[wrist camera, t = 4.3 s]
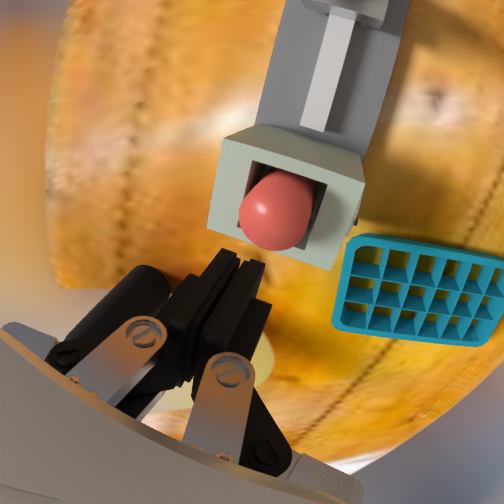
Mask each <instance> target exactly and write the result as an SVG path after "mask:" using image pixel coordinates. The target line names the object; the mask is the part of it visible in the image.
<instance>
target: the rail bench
mask: <svg viewBox="0 0 504 504" xmlns="http://www.w3.org/2000/svg"><path fill="white" fill-rule="evenodd" d="M409 4H410V0H389V2H388V6H387V10H386V14H385V18H384V22H383V23H382V25H381V27H380V29H378V28H375V27H372V26H369V25H367V27H363V26H360V25H359V24H360V22H357V21H353V20H350V19H347V18H343V17H340V16H336V15H332V14H328V13H326V16H325V15H321V14H318V12H317V11H316V10H312V9H307V8H304V6H303V4H302V2H301V0H286V2H285V6H284V10H283V14H282V17H281V21H280V25H279V29H278V32H277V36H276V40H275V44H274V48H273V52H272V56H271V60H270V64H269V68H268V72H267V76H266V80H265V84H264V88H263V92H262V96H261V100H260V104H259V108H258V112H257V116H256V121H255V125H254V126H252V127H249V128H247V129H244V130H242V131H239V132H237V133H235V134H232V135H230V136H227V137H225V138H223V142H222V147H221V152H220V157H219V162H218V167H217V172H216V178H215V183H214V188H213V194H212V199H211V205H210V211H209V216H208V222H207V228H208V229H211V230H214V231H217V232H219V233H222V234H225V235H228V236H231V237H234V238H237V239H239V240H242V241H245V242H248V243H251V244H254V243H252V242H251V241H250V240H249V239H248V238H247V237H246V235H245V234H244V232H243V231H242V229H241V226H240V223H239V208H240V205H241V203H242V201H243V199H244V198H245V197H246V196H247V194H248V193H249V192H250V191H251V190H252V189H253V188H254V187H255V186H256V185H257V184H258V183H259V182H260V181H261V179H262V178H263V177H264V176H265V175H266V174H267V173H268V172H269V171H270V170H271V169H272V168H273V167H277V168H280V169H283V170H286V171H289V172H293V173H296V174H299V175H302V176H305V177H308V178H311V179H314V180H316V183H317V196H316V199H315V202H314V206H313V209H312V212H311V216H310V219H309V222H308V225H307V229H306V232H305V234H304V236H303V238H302V239H301V240H300V241H299V242H298V243H297V244H296V245H295V246H293V247H291V248H289V249H286V250H282V251H274V252H276V253H279V254H282V255H285V256H288V257H291V258H293V259H296V260H299V261H302V262H305V263H308V264H310V265H313V266H316V267H319V268H322V269H324V270H327V271H330V270H331V268H332V266H333V263H334V261H335V259H336V256H337V254H338V252H339V249H340V247H341V245H342V242H343V240H344V237H345V236H347V235H348V234H349V233H350V231H351V229H352V227H353V225H355V226H357V223H358V211H359V208H360V204H361V200H362V195H363V190H364V187H365V184H366V183H365V178H364V173H363V168H362V164H363V162H364V159H365V156H366V153H367V150H368V147H369V144H370V141H371V138H372V135H373V132H374V129H375V126H376V123H377V120H378V117H379V114H380V111H381V107H382V104H383V101H384V98H385V94H386V91H387V88H388V84H389V81H390V77H391V74H392V71H393V67H394V63H395V60H396V56H397V52H398V49H399V45H400V41H401V37H402V33H403V29H404V25H405V21H406V17H407V13H408V8H409ZM254 245H255V244H254Z"/></svg>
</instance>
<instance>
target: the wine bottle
mask: <svg viewBox="0 0 504 504" xmlns="http://www.w3.org/2000/svg"><path fill="white" fill-rule="evenodd" d="M169 296H170V289H169V285H168V283H167V281H166V279H165V278H164V277H163V276H162V274H161V273H159V272H158V271H157V270H156V269H154V268H152V267H150V266H146V265H140V266H137V267H135V268H134V269H133V270H132V271H131V272H130V273H129V274H128V275H126V276H125V277H124V278H123V279H122V280H121V281H120V282H119V283H118V284H117V285H116V286H115V287H114V288H113V289H112V290H111V291H110V292H109V293H108V294H107V295H106V296H105V297H104V298H103V299H102V300H101V301H100V302H99V303H98V304H97V305H96V306H95V307H94V308H93V309H92V310H91V311H90V312H89V313H88V314H87V315H86V316H85V317H84V318H83V319H82V320H81V321H80V322H79V324H77V325H76V326H75V328H74V329H73V330H72V331H71V332H70V333H69V334H68V335H67V336H66V338H65V340H64V341H66V340H74V339H81V338H88V337H95V336H101V335H108V334H112V333H114V332H115V331H116V330H117V329H118V328H119V327H121V326H122V325H123V324H124V323H125V322H126V321H128V320H130V319H131V318H134V317H137V316H148V317H153V318H154V317H155V315H156V314H157V313H158V311H159V310H160V309H161V308H162V306H163V305H164V304H165V303H166V301H167V300H168V299H169Z"/></svg>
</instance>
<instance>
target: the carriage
mask: <svg viewBox="0 0 504 504" xmlns="http://www.w3.org/2000/svg"><path fill="white" fill-rule="evenodd" d="M301 2H302V4H303V6H304V8H307V9H312V10H316V11H317V12H318V14H321V15H325V16H326V13H328V14H332V15H336V16H340V17H343V18H347V19H350V20H353V21H357V22H360V24H359V25H360V26H363V27H367V25H369V26H372V27H375V28H378V29H380V27H381V25H382V23H383V22H384V18H385V14H386V10H387V6H388V2H389V0H301Z"/></svg>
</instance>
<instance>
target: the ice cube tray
mask: <svg viewBox="0 0 504 504" xmlns="http://www.w3.org/2000/svg"><path fill="white" fill-rule="evenodd" d="M367 245H368V246H374V247H380V248H383V250H382V254H381V258H380V262H379V265H375V264H369V263H362V262H356V261H353V259H354V254H355V251H356V250H357V249H358V248H359V247H361V246H367ZM390 249H392V250H398V251H404V252H410V255H409V259H408V262H407V266H406V269H400V268H394V267H387V266H386V263H387V259H388V255H389V251H390ZM420 254H422V255H428V256H434V257H436V259H435V262H434V265H433V268H432V271H431V273H425V272H419V271H415V268H416V265H417V261H418V258H419V255H420ZM447 259H451V260H457V261H460V263H459V266H458V269H457V271H456V274H455V277H450V276H444V275H442V273H443V270H444V267H445V264H446V261H447ZM472 264H479V265H482V267H481V270H480V272H479V275H478V277H477V280H476V281H474V280H468V279H467V277H468V275H469V272H470V269H471V267H472ZM495 268H500V269H502V270H501V273H500V275H499V277H498V280H497V282H496V284H492V283H490V280H491V278H492V276H493V273H494V271H495ZM350 276H356V277H363V278H369V279H375V282H374V286H373V289H366V288H360V287H354V286H348V283H349V279H350ZM382 281H388V282H395V283H401V286H400V289H399V292H398V293H393V292H386V291H379V289H380V285H381V282H382ZM410 285H415V286H421V287H426V288H425V291H424V294H423V297H420V296H413V295H407V293H408V290H409V287H410ZM436 289H441V290H448V291H449V292H448V295H447V297H446V300H440V299H433V297H434V295H435V292H436ZM461 293H468V294H470V296H469V299H468V301H467V303H462V302H458V299H459V297H460V294H461ZM483 296H488V297H490V298H489V300H488V302H487V304H486V306H484V305H480V303H481V301H482V299H483ZM344 301H348V302H355V303H361V304H368V307H367V311H366V313H364V312H357V311H351V310H349V309H347V308H346V307H345V306H344ZM374 306H381V307H388V308H393V310H392V313H391V316H384V315H377V314H372V312H373V309H374ZM401 310H409V311H417V312H416V315H415V317H414V320H413V319H406V318H399V315H400V313H401ZM427 313H432V314H439V316H438V318H437V320H436V322H429V321H424V319H425V317H426V315H427ZM503 313H504V260H503V259H502V258H500V257H498V256H493V255H488V254H483V253H478V252H473V251H468V250H462V249H457V248H452V247H446V246H441V245H436V244H430V243H424V242H419V241H413V240H407V239H401V238H396V237H390V236H384V235H377V234H371V233H364V234H360V235H358V236H355V237H352V238H351V239H350V241H349V242H348V243H347V244H346V250H345V255H344V261H343V266H342V272H341V277H340V282H339V287H338V292H337V296H336V301H335V306H334V310H333V315H332V319H331V322H332V324H333V326H334V328H336V329H337V330H339V331H344V332H351V333H357V334H364V335H371V336H378V337H386V338H394V339H402V340H410V341H418V342H427V343H437V344H446V345H457V346H468V347H478V346H482V345H484V344H485V343H486V342H487V341H488V340H489V338H490V337H491V335H492V333H493V331H494V329H495V328H496V326H497V324H498V322H499V320H500V318H501V316H502V315H503ZM451 316H455V317H460V318H459V320H458V322H457V324H456V325H453V324H447V323H448V321H449V319H450V317H451ZM473 319H479V321H478V323H476V324H475V325H472V326H470V324H471V322H472V320H473Z"/></svg>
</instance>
